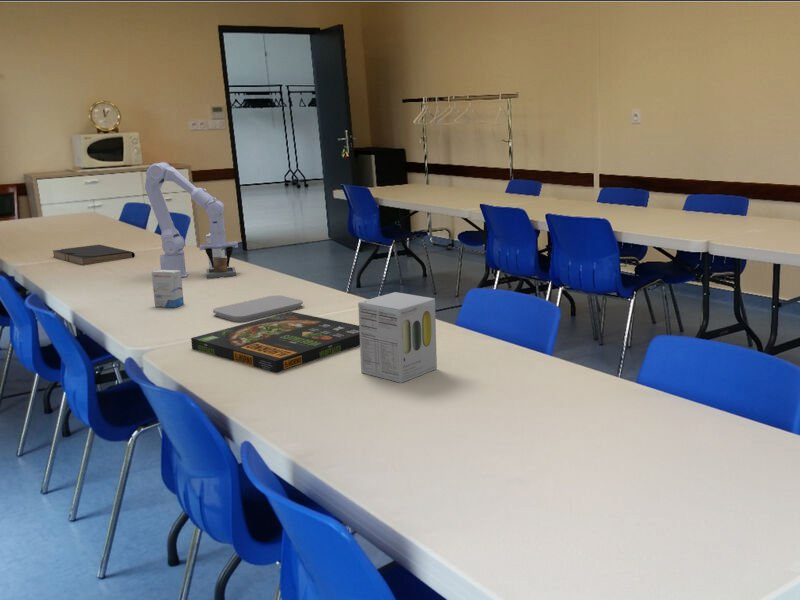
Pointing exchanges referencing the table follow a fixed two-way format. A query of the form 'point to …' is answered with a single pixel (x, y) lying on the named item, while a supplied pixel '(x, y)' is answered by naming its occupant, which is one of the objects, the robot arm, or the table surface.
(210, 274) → the grey dish
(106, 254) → the file folder
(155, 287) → the ink box
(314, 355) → the pizza box
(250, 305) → the tablet
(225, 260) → the walnut cube
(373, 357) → the supplement box
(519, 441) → the table surface
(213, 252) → the syrup box
